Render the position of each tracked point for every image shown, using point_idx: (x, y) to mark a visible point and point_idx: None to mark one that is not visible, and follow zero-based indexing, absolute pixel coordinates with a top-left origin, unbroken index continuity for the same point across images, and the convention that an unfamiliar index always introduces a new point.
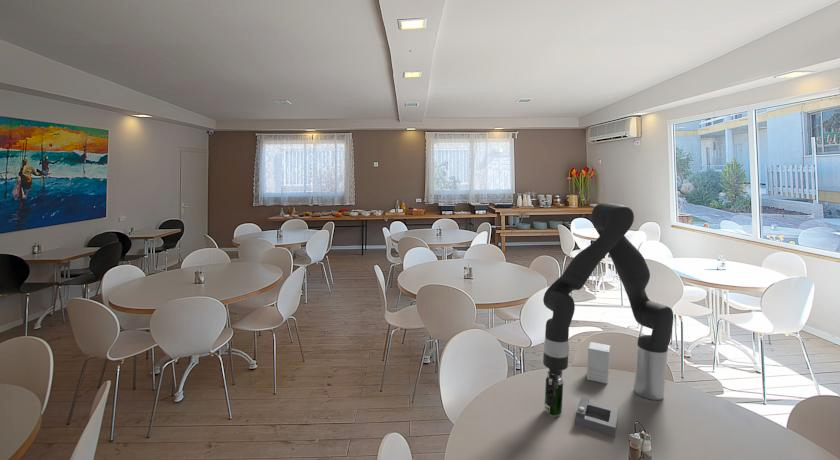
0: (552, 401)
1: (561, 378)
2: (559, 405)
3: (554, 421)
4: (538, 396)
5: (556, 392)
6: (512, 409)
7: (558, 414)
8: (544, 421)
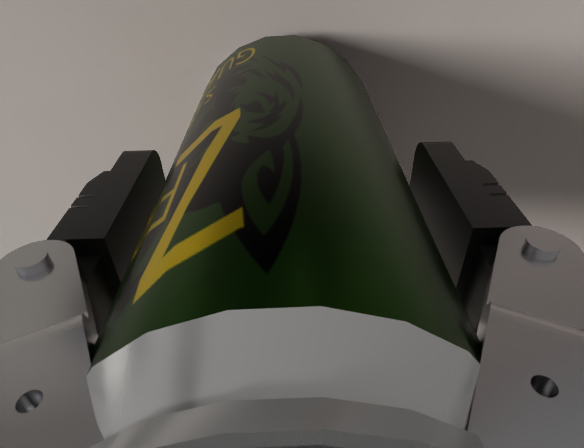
0: (504, 202)
1: (154, 443)
2: (346, 89)
3: (431, 66)
4: None
5: (433, 245)
6: None
7: (342, 57)
8: (464, 143)
